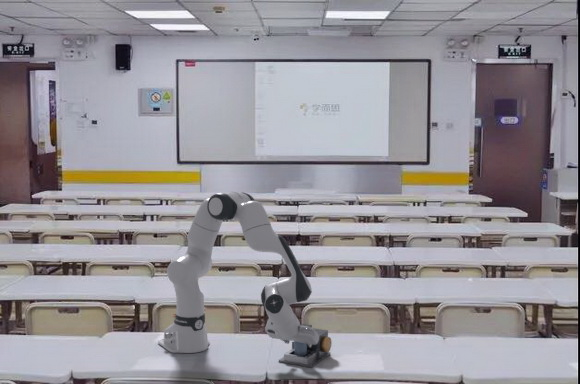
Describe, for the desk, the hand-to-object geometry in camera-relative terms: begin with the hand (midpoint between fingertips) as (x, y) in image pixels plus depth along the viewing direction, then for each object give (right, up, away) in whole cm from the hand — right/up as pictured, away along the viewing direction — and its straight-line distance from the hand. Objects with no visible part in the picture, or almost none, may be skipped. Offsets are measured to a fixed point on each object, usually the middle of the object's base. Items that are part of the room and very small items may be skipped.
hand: (298, 343), depth 287 cm
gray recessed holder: (+3, -7, +6) cm, 10 cm away
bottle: (+1, -6, +2) cm, 7 cm away
